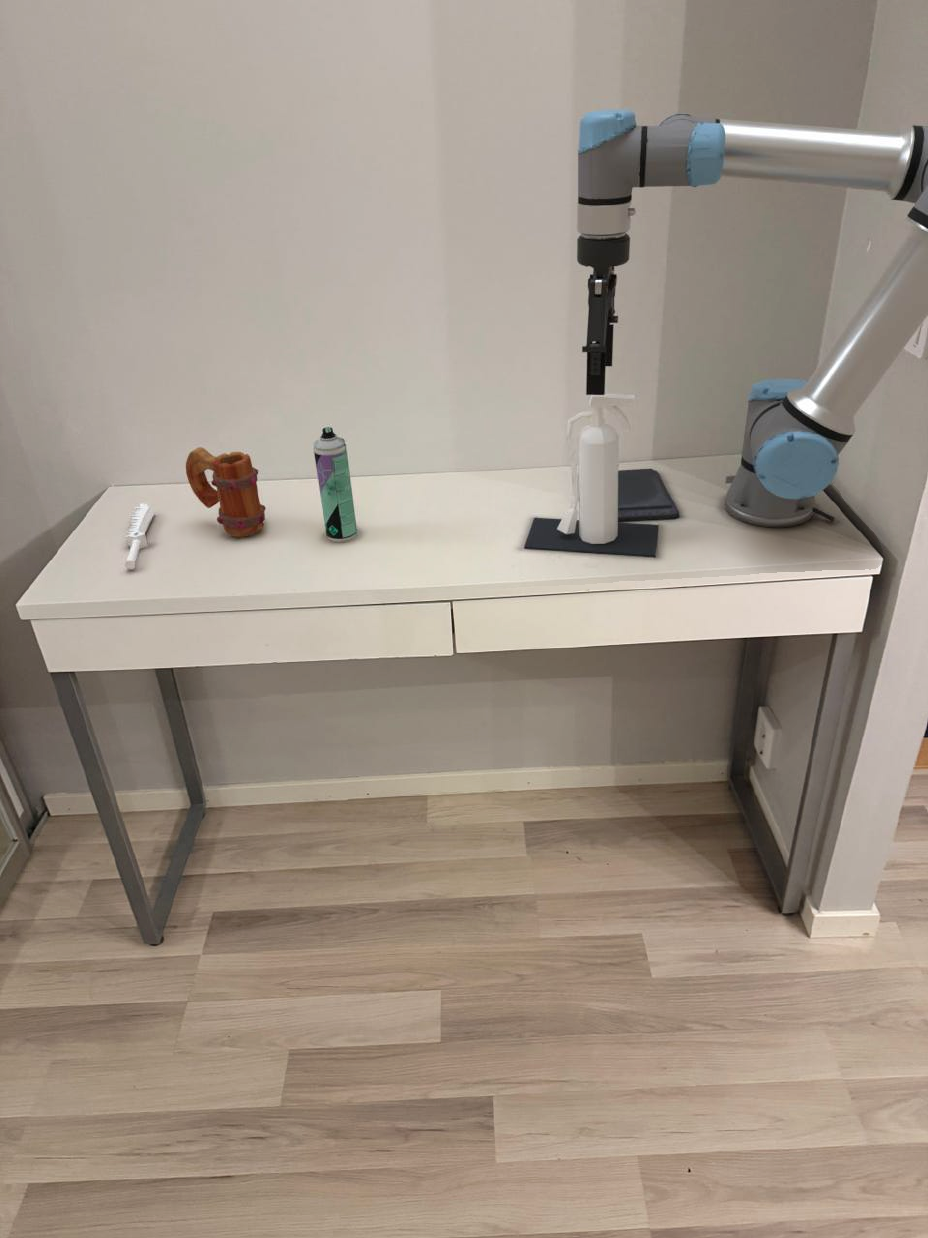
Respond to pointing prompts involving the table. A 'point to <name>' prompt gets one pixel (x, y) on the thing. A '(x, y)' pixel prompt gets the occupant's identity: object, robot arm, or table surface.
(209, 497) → the mug
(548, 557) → the table surface
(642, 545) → the mat
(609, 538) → the fire extinguisher
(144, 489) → the table surface
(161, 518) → the table surface
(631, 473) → the wallet
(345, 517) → the spray can
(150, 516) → the toy saw sword
